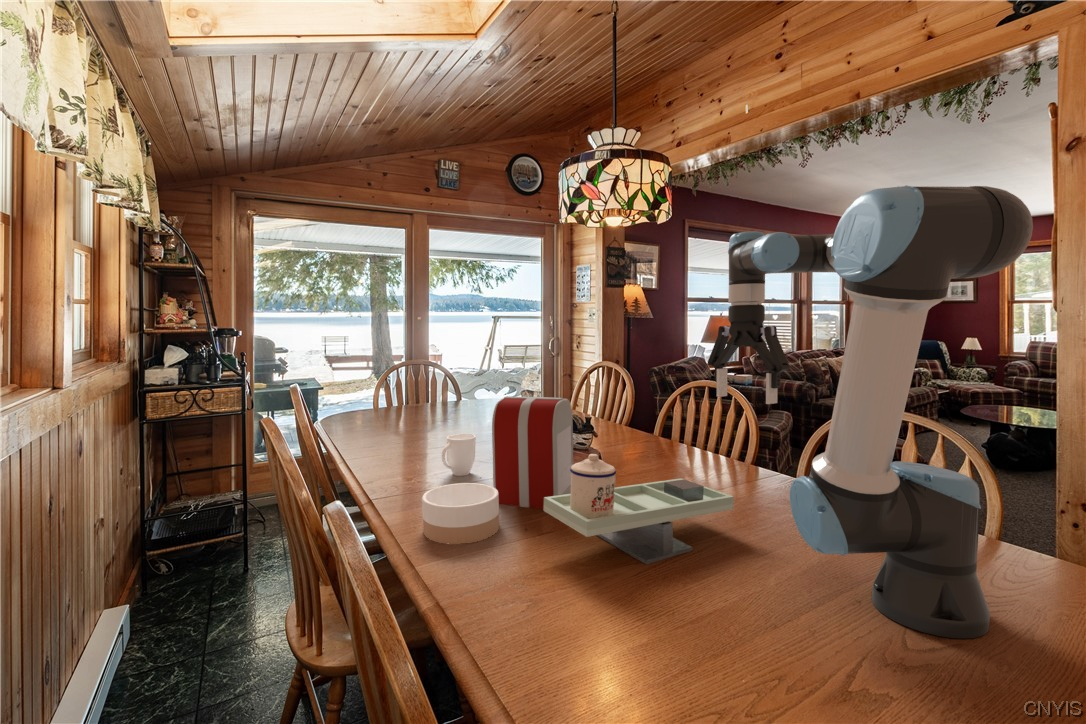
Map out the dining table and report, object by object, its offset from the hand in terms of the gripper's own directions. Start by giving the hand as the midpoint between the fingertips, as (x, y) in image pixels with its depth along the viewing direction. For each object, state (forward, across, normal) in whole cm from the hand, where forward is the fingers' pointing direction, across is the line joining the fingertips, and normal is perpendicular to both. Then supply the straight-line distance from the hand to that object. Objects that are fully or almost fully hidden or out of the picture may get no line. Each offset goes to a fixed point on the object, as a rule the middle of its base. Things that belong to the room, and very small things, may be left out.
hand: (745, 399), depth 121 cm
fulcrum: (+29, +5, +26) cm, 39 cm away
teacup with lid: (+20, +6, +37) cm, 43 cm away
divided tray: (+21, +5, +26) cm, 34 cm away
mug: (+29, +74, +41) cm, 89 cm away
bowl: (+29, +32, +56) cm, 71 cm away
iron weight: (+21, +5, +14) cm, 26 cm away
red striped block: (+29, +43, +31) cm, 60 cm away
